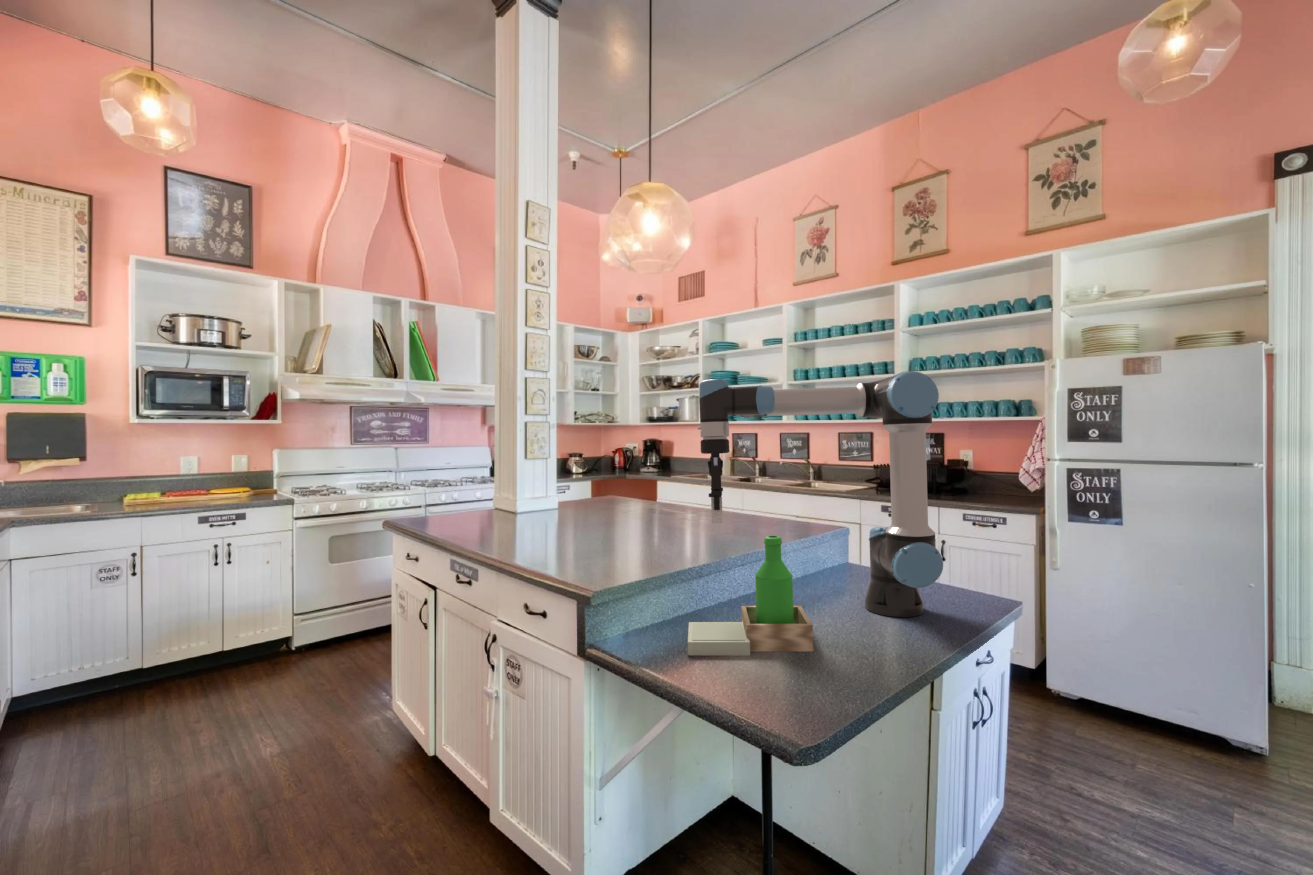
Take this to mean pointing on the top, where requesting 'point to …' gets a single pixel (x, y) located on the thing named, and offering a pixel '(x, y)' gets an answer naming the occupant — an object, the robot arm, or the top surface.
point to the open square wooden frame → (778, 632)
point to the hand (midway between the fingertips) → (716, 519)
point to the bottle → (774, 587)
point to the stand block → (717, 639)
